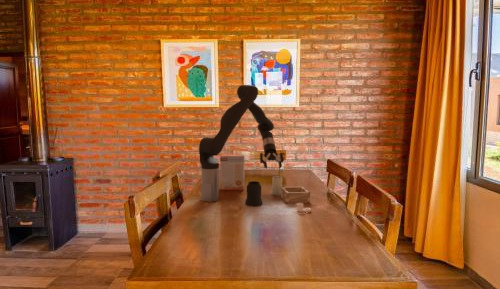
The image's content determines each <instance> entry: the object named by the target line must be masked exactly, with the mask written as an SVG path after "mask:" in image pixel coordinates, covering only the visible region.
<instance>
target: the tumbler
mask: <svg viewBox="0 0 500 289" xmlns="http://www.w3.org/2000/svg"><path fill="white" fill-rule="evenodd" d="M271 181H272V182H271V184H272V186H271V187H272V189H271V190H272V191H271V195H273V196H281V187H283V176H281V175H274V176H272V180H271Z"/></svg>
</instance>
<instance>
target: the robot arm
mask: <svg viewBox="0 0 500 289" xmlns="http://www.w3.org/2000/svg"><path fill="white" fill-rule="evenodd" d="M236 90H237V91H236V95H237V97H238V99H239V101H238V102H236V103H235V104H233V105H230V107H228V108H227V109H226V111H225V112H224V113H223V115H222V116H221V119H220V123H219V124H220V127H219V130H218V132H217V133H216V135H215V136H214V137H203V138H202V139H201V140H200V141H199V146H198V152H199V153H198V154H199V155H198V156H199V162H200V166H201V183H200V189H201V190H200V194H201V197H200V198H201V199H200V201H202V202H208V203H209V202H210V203H213V202H216V201H217V202H218V201H219V200H220V163H219V161H217V160H216V159H215V158H214V156H218V155H220V153H221V152H222V150H223V148H224V147H225V145H226V143H227V141H228V139H229V138H230V135H231V134H232V133H233V131H234V130H235V128H236V126H237V125H238V124H239V122H240V121H241V119H242V117H243V116H244V114H245V113H246V112H247V111H249V112H250V114H252V116H253V118H254V119H255V121H256V123H257V124H258V125H257V130H258V132H259V134H260V135H261V138H262V147H263V152H264V153H262V152H260V154H259V163H261V164H263V167H264V169H267V168H268V163H267V162H268V161H275V162H276V163H278V168H279V169H281V168H283V167H282V166H283V163H284V161H285V160H284V155H283V153H282V152H279V153H278V151H277V146H276V143H275V139H274V135H273V132H272V131H273V130H274V128H275V125H274V122H273V121H272V120H271V119H270V118H268V116H267V115H266V113H265V111H264V110H263V108H262V107H260V106H259V105H258V104H257V103H255V101H256V99H257V98H258V95H259V89H258V87H257V86H256V85H252V84H241V85H239V86H238V88H237V89H236ZM263 158H264V159H263Z"/></svg>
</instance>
